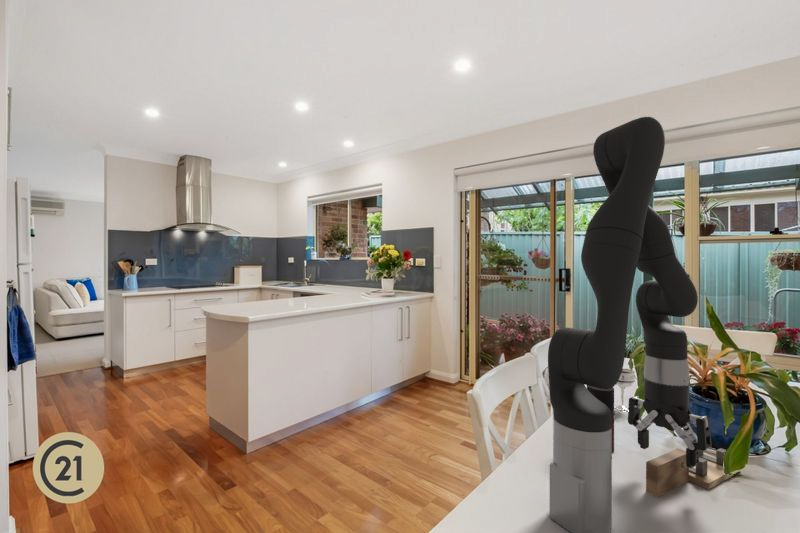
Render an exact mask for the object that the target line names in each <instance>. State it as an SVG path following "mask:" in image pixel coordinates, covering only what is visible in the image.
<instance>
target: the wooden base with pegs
mask: <svg viewBox="0 0 800 533" xmlns="http://www.w3.org/2000/svg"><path fill="white" fill-rule="evenodd" d="M726 450H727V449H724V448H721V447H720V448H718V449H716V450H715V451H716V452H715V454H716V456H714V455H711V454H709V453H705V452H704V451H702V450H699V463H698V465H696V466H695V467H693V468H689V481H690V482H692V483H693V484H695V485H699V486H701V487H703V488H705V489H707V490H711V489H712V488H714V487H716V486H717V485H719V484H721V483H723V482H724V481H727V480H728V479H730V478H732V477H733V476H735V475H734V474H731V475H729V474H725V473H724V469H723V455H724V453H725V452H726ZM689 481H688V482H689Z"/></svg>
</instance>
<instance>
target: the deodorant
mask: <svg viewBox="0 0 800 533" xmlns="http://www.w3.org/2000/svg"><path fill="white" fill-rule="evenodd" d="M586 388H587V389H588V391H589V392H590V393H591V394H592V395H593V396H594V397H596V398H597V399H598V400H600V401H601V402H602V403H604V404H605V405H606V406H607V407H608V408H609V409H610V411H611V414H612V454H613V453H615V408H614V406H615V388H614V387H612V388H610V389H600V388H596V387H593V386H589V385H586Z"/></svg>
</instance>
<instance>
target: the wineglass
mask: <svg viewBox="0 0 800 533" xmlns="http://www.w3.org/2000/svg"><path fill="white" fill-rule="evenodd" d="M631 370H632V369H628V368H624V367H623V369H622V373H621V376H620V378H619V380H618V382H617V383H616V386H618V388H619V389H620V391H621V392H620V393H621V394H620V395H621V396H620V397H621V398H620V399H621V405H615V406H616V408H618V409H621V410H622V409H623V410H624V409H625V410H628V408H627V407H628V406H624V397H625V389H626V388H630V387H631V386H632V385H633V384H634V383H635V382H636V376H635V375H634V374H635V373H636V372H635V370H632V372H631Z"/></svg>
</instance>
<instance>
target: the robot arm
mask: <svg viewBox="0 0 800 533" xmlns="http://www.w3.org/2000/svg"><path fill="white" fill-rule="evenodd" d="M665 139H666V138H665V130H664V127H663V125H662V124H661V121H660V120H658V119H657V118H655V117H652V116H642V117H638V118H635V119H632V120H630V121H628V122H624V123H623V124H621V125H617V126H616V127H614V128H611V129H609V130H607V131H605V132H603V133H601V134H600V135H598V137H597V138H596V139H595V141H594V144H593V158H594V161H595V165H596V167H597V170H598V172H599V174H600V176H601V178H602V181H603V183H604V185H605V188H606V190H607V192H608V194H609V195H608V196H607V198H606V199H605V200H604V201H603V202H602V204H601V205H600V206H599V208H598V209H597V211H596V212H595V213H594V214H593V216H592V218H591V219H590V220H589V222H588V224H587V228H586V231H585V236H584V240H583V244H582V248H581V254H580V255H581V256H580V260H581V265H582V268H583V271H584V274H585V276H586V279H587V280H588V282H589V284H590V286H591V288H592V291H593V293H594V295H595V296H594V297H595V300H596V304H597V318H596V325H595V330H588V329H581V328H573V327H561V328H558V329H557V330H556V331H555V332H554V333H553V334H552V335H551V338H550V341H549V344H548V349H547V350H548V352H547V370H548V387H549V391H548V392H549V401H550V405H551V407H552V411H553V412H552V413H553V414H552V419H553V422H552V426H553V427H552V428H553V433H552V434H553V436H552V440H553V441H552V445H553V446H552V447H553V448H552V452H553V453H552V459H553V460H552V462H551V463H550V464H549V514H548V516H549V518H550V519H551V520H553V522H556V523H557V524H558V525H560V526H561V527H563V528H564V529H565V530H566V531H568V532H569V533H611V532H612V528H613V524H612V523H613V517H612V513H613V512H612V511H613V504H612V501H613V494H612V492H613V491H612V490H613V487H612V485H613V484H612V482H613V481H612V480H613V479H612V478H613V477H612V475H613V474H612V472H613V471H612V470H613V468H612V467H613V463H612V462H613V461H612V460H613V453H612V414H611V411H610V409H609V408H608V407H607V406H606V405H605V404H604V403H602V402H601V401H600V400H598V399H597V398H596V397H594V396H593V395H592V394H591V393H590V392H589V391H588V389H587V385H589V386H593V387H596V388H600V389H610V388H612V387H613V388H614V387H615V385H616V383H617V382H618V380H619V378H620V376H621V373H622V369H623V368H624V363H625V358H626V348H627V347H626V346H627V336H628V324H629V312H630V305H631V299H632V298H631V297H632V292H633V287H634V282H635V275H636V273H637V270H638V271H639V272H642V273H645V274H647V275H648V276H649V275H650V276H652V277H653V278H654V280H653V279H650V280H647V281H645V282H643V283H642V284H641V285H640V286H639V287H638V289H637V291H636V293H635V294H636V295H635V304H636V305H635V306H636V309H637V313H638V315H639V319H640V323H641V326H642V329H643V332H644V335H645V337H644V338H645V339H644V341H645V342H644V343H645V345H644V346H645V355H644V363H643V376H644V377H643V380H644V381H643V384H644V387H643V388H644V390H643V391H644V395H643V396H644V399H642V398H641V397H640V396H639V395H635V396H632V397H629V398H628V406H627V407H628V412H627V423H628V424H629V425H630V426H631V425H632V426H634V428H636V430H637V443H638V445H639V446H640V448H641V449H643V450H646V449H648V448H650V430H649V429H648V428H649V427H651V426H652V425H653V424H654V425H655V426H657V427H659V428H665V429H666V430H668V431H670V432H675V433H676V435H677V436H678V437H679V438H680V439H682V441H683V442H684V444H685V445H686V448H685V451H686V466H687V467H689V468H693V467H695V466H696V465H698V463H699V450H702V451H703V452H704V451H706V450H708V449H710V448H712V434H711V421H710V420H711V418H709V416H707V415H701V416H700V415H697V414H693V413H692V412H691V411H690V381H691V376H690V368H689V361H688V336H687V333H686V331H685V330H684V329H682V328H679V327H678V326H675V325H674V324H672V323H671V321H670V318H669V317H674V318H684V317H688V316H690V315H691V314H693V313H694V312H695V310H696V308H697V305H698V302H699V300H698V299H699V298H698V297H699V296H698V291H697V289H696V287H695V285H694V282H693V281H692V279H691V278H690V277H689V275H688V273H687V272H686V270H685V268H684V267H683V265H682V263H681V262H680V260H679V259H678V257H677V254H676V250H675V246H674V242H673V239H672V234H671V232H670V229H669V226H668V224H667V222H666V221H665V220H664V219H663V217H662V216H661V215H660V214H659V213H658V212H657V211H656V210H655V209H654V208H653V207H651V206H650V205H649V204H650V200H651V195H652V192H653V188H654V186H655V182H656V179H657V176H658V173H659V170H660V167H661V164H662V160H663V156H664V152H665V143H666V142H665ZM616 386H617V385H616ZM641 408H644V410H645V411H646V413H647V414H646V416H645V417H643V418H642V420H640V418H641ZM690 421H691V422H692V423H693V426H694V427H695V428H696V434H697V435H695V433H694V432H695V431H694V430H693V429H692V427H691V426H690V424H689V422H690Z"/></svg>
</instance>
